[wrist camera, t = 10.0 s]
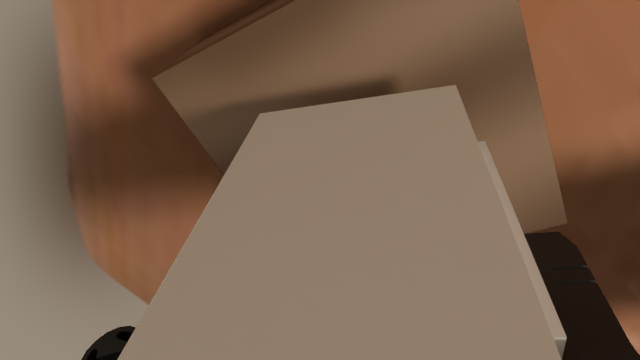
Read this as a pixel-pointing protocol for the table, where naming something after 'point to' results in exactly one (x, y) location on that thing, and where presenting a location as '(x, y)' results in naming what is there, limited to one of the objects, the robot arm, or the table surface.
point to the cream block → (351, 246)
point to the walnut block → (375, 78)
